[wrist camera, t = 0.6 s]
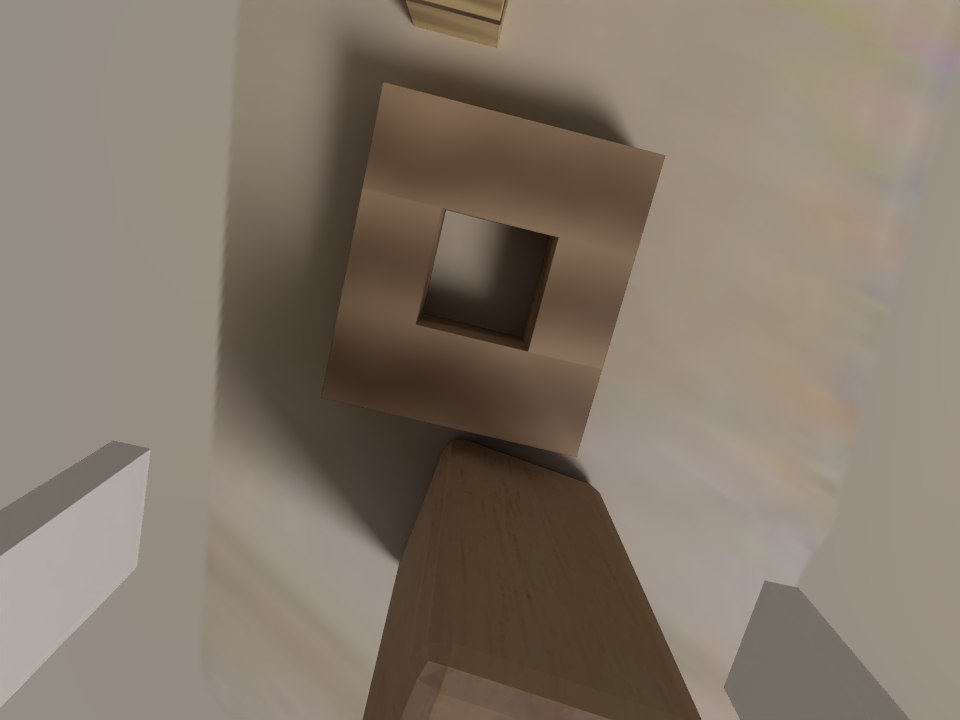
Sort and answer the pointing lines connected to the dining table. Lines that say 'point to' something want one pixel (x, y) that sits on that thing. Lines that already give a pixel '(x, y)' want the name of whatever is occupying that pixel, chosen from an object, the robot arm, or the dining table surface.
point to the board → (506, 200)
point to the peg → (461, 18)
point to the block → (519, 606)
